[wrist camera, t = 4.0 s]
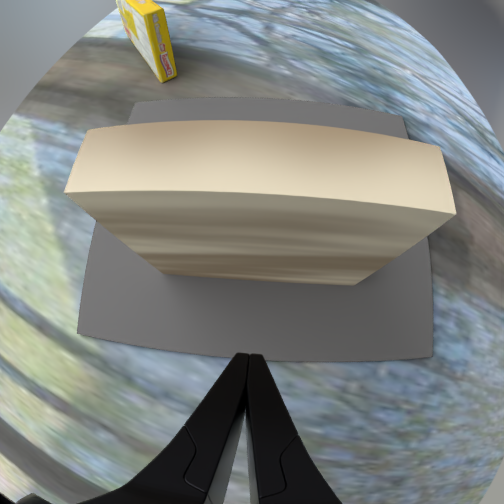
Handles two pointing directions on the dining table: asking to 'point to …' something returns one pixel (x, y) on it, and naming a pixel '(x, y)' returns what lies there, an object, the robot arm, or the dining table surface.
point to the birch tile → (261, 197)
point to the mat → (260, 292)
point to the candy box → (149, 35)
